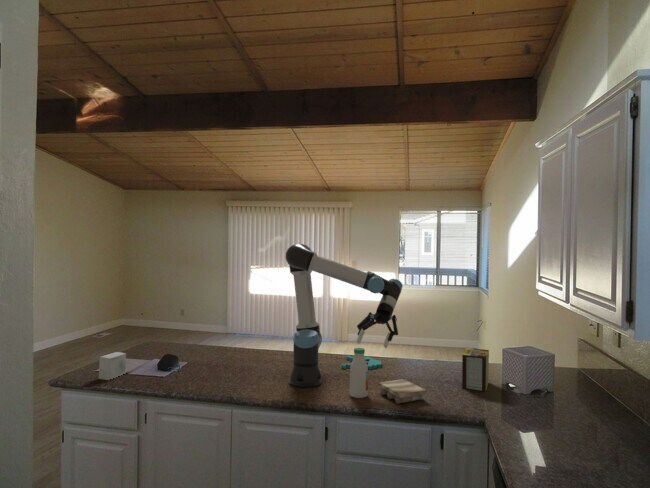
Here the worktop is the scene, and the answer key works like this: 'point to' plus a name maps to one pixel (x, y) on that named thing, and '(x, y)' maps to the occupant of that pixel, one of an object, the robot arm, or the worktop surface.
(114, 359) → the skincare box
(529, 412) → the worktop surface
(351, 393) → the milk bottle
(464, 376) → the protein box
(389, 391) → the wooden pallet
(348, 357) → the alien figure
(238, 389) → the worktop surface
